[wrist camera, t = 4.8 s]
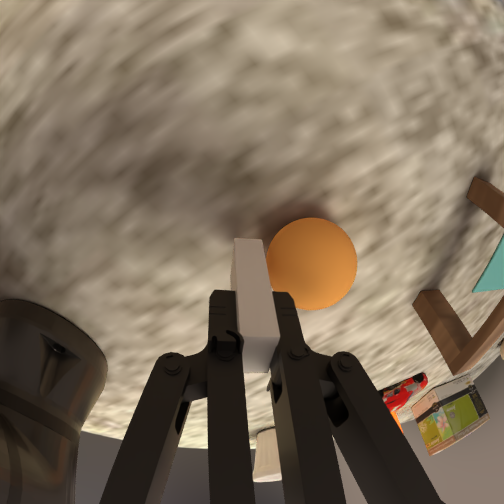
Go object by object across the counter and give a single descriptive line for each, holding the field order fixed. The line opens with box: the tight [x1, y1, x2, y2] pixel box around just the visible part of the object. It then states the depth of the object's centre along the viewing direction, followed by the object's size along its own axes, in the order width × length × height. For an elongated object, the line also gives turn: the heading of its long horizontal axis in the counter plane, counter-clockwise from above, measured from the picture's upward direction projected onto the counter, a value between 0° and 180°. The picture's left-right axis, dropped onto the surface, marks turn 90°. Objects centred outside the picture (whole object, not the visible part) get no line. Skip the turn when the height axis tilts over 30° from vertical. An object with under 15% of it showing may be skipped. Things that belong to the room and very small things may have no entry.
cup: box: [253, 427, 282, 482], centre depth 39 cm, size 10×10×9 cm
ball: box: [266, 218, 357, 310], centre depth 17 cm, size 6×6×6 cm
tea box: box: [411, 374, 490, 456], centre depth 44 cm, size 15×10×15 cm, turn 81°
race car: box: [378, 373, 428, 412], centre depth 39 cm, size 13×5×4 cm, turn 102°
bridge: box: [412, 177, 504, 376], centre depth 18 cm, size 3×14×9 cm, turn 173°
